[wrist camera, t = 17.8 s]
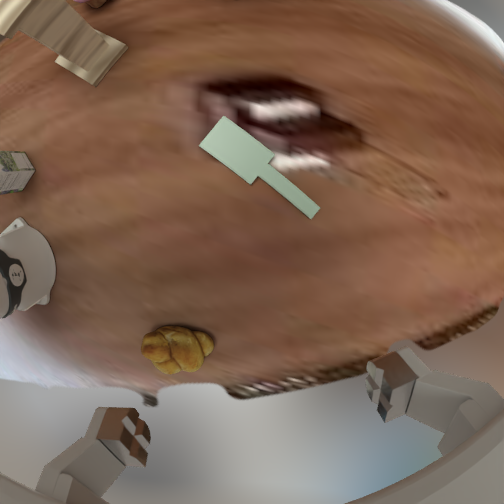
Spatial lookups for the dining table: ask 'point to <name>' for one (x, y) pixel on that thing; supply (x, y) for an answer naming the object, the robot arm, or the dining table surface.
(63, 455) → the robot arm
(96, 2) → the cupcake
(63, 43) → the stand
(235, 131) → the spatula
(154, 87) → the dining table surface
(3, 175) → the syrup box
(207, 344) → the bread roll
